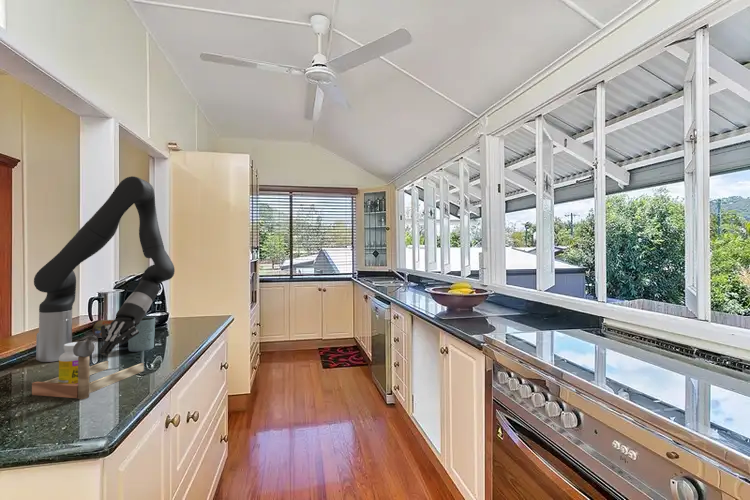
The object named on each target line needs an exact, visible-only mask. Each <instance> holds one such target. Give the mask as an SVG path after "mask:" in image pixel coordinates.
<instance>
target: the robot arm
mask: <svg viewBox="0 0 750 500" xmlns="http://www.w3.org/2000/svg"><path fill="white" fill-rule="evenodd" d="M155 194H156V193H155V190H154V187H153V185H152V184H151V183H149V182H148V181H147V180H144V179H142V178H140V177H138V176H135V175H134V176H133V175H132V176H128V177H125V178H124V179H122V180H121V181H120V182H119V183H118V185H117V186H116V187H115V189H114V190H113V192H111V194H110V196H109V197H108V198H107V199H106V201H105V202H104V204H102V205H101V206H100V208H99V209H97V211H95V213H94V214H93V215H92V216H91V218H89V220H87V221H86V222H85V223H84V224H83V226H82V227H80V229H79V230H78V231H77V232H76V233H75V235H73V237H72V238H71V239H70V240H69V241H68V242H66V245H64V247H63V248H62V249H61V250H60V251H59V252H58V253H57V254H56V255H55V256H54V257H53V258H51V259H50V260H49V261H48V262H46V264H45V265H44V266H42V267H41V268H40V269H39V270H38V271H37V273H35V275H34V278H33V285H34V288H35V289H36V290H37V291H39V292H41V293H46V296H45V298H44V300H43V301H42V302H40V304H39V306H38V308H39V309H38V311H39V312H38V332H37V333H36V337H35V338H36V339H35V340H36V343H35V344H36V345H35V347H36V349H35V350H36V351H35V353H36V354H35V355H36V356H35V358H36V361H38V362H40V363H49V362H59V357H60V355H62V354H63V353H64V352H65V350H64V344H67V343H72V342H73V306H74V303H75V300H76V292H77V291H76V290H77V276H76V274H75V271H74V270H75V269H76V268H77V267H78V266H79V265H81V264H82V263H83V262H84V261H86V260H87V259H89V258H90V257H92V256H94V255H95V254H97V253H98V252H99V251H101V250H102V249H103V248H104V247H105V246H106V245H107V244H108V243H109V241H110V240H111V239H113V237H114V235H115V234H116V232H117V230H118V228H119V224H120V222H121V219H122V217H123V216H124V214H125V213H126V212H127V211H128V210H129V209H130V208H131V207H132V206H133V205H134V206H135V208H136V210H137V213H138V219H139V225H138V226H139V227H138V237H139V242H140V247H141V249H142V253H143V256H144V257H145V258H146V259H151V260H152V262H153V264H152V265H150V266H148V267H147V268H146V269H145V270H144V271H143V273H142V275H141V277H140V279H139V282H138V284H137V286H136V287H135V289H134V290H133V292H131V294H130V295H129V296H128V297H127V298H126V300H125V301H124V302H123V304H122V305H121V307H119V309H118V311H117V312H116V314H115V318H114V319H113V320H114V321H112V322H111V324H110V325H108V326H105V325H103V326H102V327H101V336H102V339H101V340H103V341H104V343H103V345H102V346H101V347H100V349H99V353H100V354H101V356H109V354H111V353H112V351H113V350H114V349H115V347H116V346H117V345H119V344H120V345H123V344H125V343H127V342H128V340H129V339H131V338H132V337H134V336H136V335H137V334H138V333H139V331H138V330H137V329H136V326H137V325H138V324H139V323H140V322H141V320H142V319H143V317H146V314H147V313H148V311H149V310H150V307H151V306H152V303H153V302H154V301H155V299H156V298H157V296H158V294H159V292H160V287H159V286H160V284H161V283H163V282H166V281H169V280H171V279H172V278H173V277H174V275H175V265H174V263H173V261H172V260H171V257H170V256H169V254H168V253H167V251H166V250H165V245H164V243H163V238H162V234H161V231H160V227H159V222H158V217H157V216H158V214H157V208H156V196H155Z"/></svg>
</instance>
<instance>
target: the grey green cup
mask: <svg viewBox="0 0 750 500" xmlns="http://www.w3.org/2000/svg"><path fill="white" fill-rule="evenodd" d="M155 327H156V317H155V316H144V317H143V319H142V320H141V322H140V323H139V324H138V325H137V326H136V329H137V330H138V331H139V333H138V334H137V335H136V336H134V337H132V338H131V339H129V340H128V341H127V343H128V344H127V348H128V352H137V353H138V352H146V351H149V350H152V349H154V347H155V333H156V331H155Z"/></svg>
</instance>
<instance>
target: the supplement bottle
mask: <svg viewBox="0 0 750 500" xmlns="http://www.w3.org/2000/svg"><path fill="white" fill-rule="evenodd" d="M77 342H78V341H72V343H67V344H64V350H65V352H64V353H63V354H62V355H60V357H59V361H58V377H59V378H58V383H65V384H78V357H79V356H75V355H74V353H73V348H74V346H75V344H76V343H77Z"/></svg>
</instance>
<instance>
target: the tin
mask: <svg viewBox="0 0 750 500" xmlns="http://www.w3.org/2000/svg"><path fill="white" fill-rule="evenodd" d="M114 320H115V319H101V320H98V321H96V322H95V323H94V324H93V327H92V334H93V336H96V337H97V339H98V338H102V336H101V327H102V326H103V325H105V326H108V325H110V324H111V322H112V321H114Z"/></svg>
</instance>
